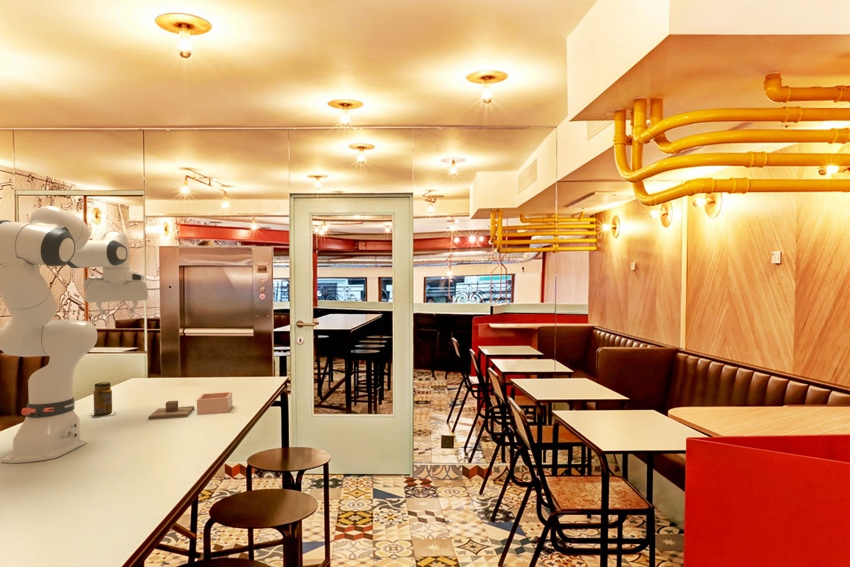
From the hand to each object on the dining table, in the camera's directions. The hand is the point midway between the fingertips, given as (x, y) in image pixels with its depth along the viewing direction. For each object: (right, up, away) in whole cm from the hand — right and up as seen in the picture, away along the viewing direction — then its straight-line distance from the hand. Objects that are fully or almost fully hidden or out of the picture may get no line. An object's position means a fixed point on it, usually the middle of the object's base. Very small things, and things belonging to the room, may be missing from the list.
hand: (117, 313), depth 195 cm
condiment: (-10, -39, +8) cm, 42 cm away
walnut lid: (+18, -38, +4) cm, 42 cm away
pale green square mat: (+18, -39, +4) cm, 43 cm away
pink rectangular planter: (+32, -38, +9) cm, 51 cm away
